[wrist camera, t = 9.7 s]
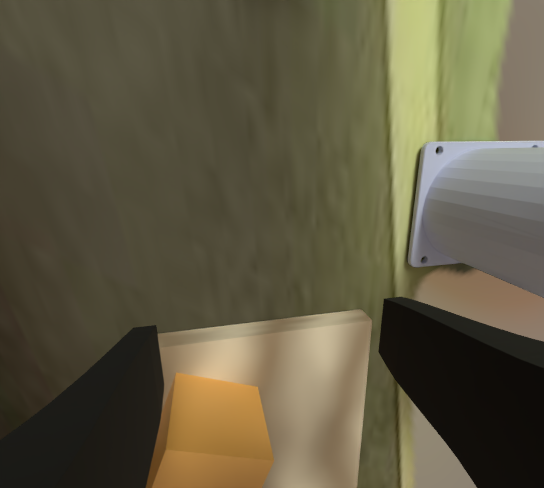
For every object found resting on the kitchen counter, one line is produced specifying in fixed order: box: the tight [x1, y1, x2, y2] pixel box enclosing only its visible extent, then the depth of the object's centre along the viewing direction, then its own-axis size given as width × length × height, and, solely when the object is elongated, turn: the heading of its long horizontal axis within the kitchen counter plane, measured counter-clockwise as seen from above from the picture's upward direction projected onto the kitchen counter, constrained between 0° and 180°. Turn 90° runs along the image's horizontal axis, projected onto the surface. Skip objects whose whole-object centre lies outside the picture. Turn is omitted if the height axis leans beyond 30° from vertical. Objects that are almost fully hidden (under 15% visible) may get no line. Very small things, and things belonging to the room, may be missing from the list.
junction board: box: [158, 309, 372, 488], centre depth 20 cm, size 15×15×6 cm
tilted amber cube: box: [146, 373, 274, 488], centre depth 17 cm, size 5×5×5 cm
